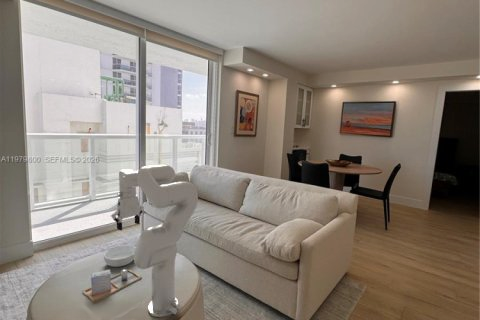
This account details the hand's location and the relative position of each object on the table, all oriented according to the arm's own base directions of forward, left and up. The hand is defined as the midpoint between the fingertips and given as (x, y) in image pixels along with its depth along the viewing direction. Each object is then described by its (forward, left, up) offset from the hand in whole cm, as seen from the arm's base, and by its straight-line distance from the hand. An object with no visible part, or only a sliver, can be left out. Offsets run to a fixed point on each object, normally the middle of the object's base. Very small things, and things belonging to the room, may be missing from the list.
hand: (128, 226), depth 127 cm
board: (-2, +10, -28) cm, 29 cm away
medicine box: (-1, +15, -27) cm, 31 cm away
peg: (-2, +4, -26) cm, 27 cm away
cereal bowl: (+16, -4, -28) cm, 33 cm away
